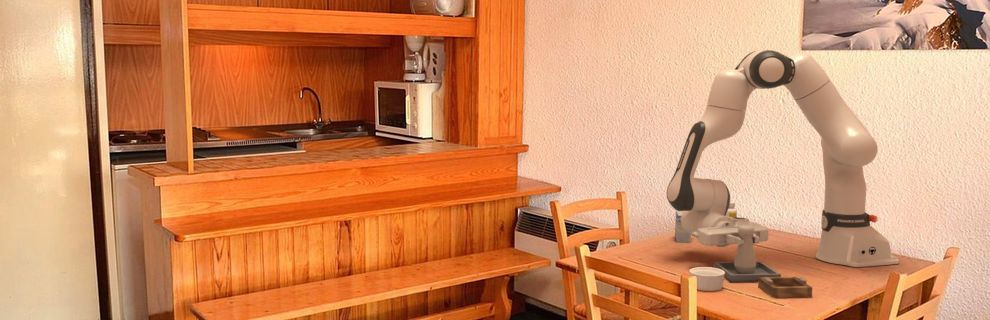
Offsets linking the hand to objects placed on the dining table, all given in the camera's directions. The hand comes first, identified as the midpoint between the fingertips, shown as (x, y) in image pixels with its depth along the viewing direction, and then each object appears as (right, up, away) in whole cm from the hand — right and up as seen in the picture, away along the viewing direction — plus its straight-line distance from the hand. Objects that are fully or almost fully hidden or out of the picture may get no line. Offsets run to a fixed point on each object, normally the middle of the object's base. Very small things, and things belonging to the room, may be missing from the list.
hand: (749, 241), depth 233 cm
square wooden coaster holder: (+5, -12, -13) cm, 18 cm away
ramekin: (-14, -11, -9) cm, 20 cm away
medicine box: (-8, -4, +44) cm, 45 cm away
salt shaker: (-1, -9, +2) cm, 9 cm away
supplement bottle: (+10, -2, +58) cm, 58 cm away
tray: (0, -9, +2) cm, 10 cm away
